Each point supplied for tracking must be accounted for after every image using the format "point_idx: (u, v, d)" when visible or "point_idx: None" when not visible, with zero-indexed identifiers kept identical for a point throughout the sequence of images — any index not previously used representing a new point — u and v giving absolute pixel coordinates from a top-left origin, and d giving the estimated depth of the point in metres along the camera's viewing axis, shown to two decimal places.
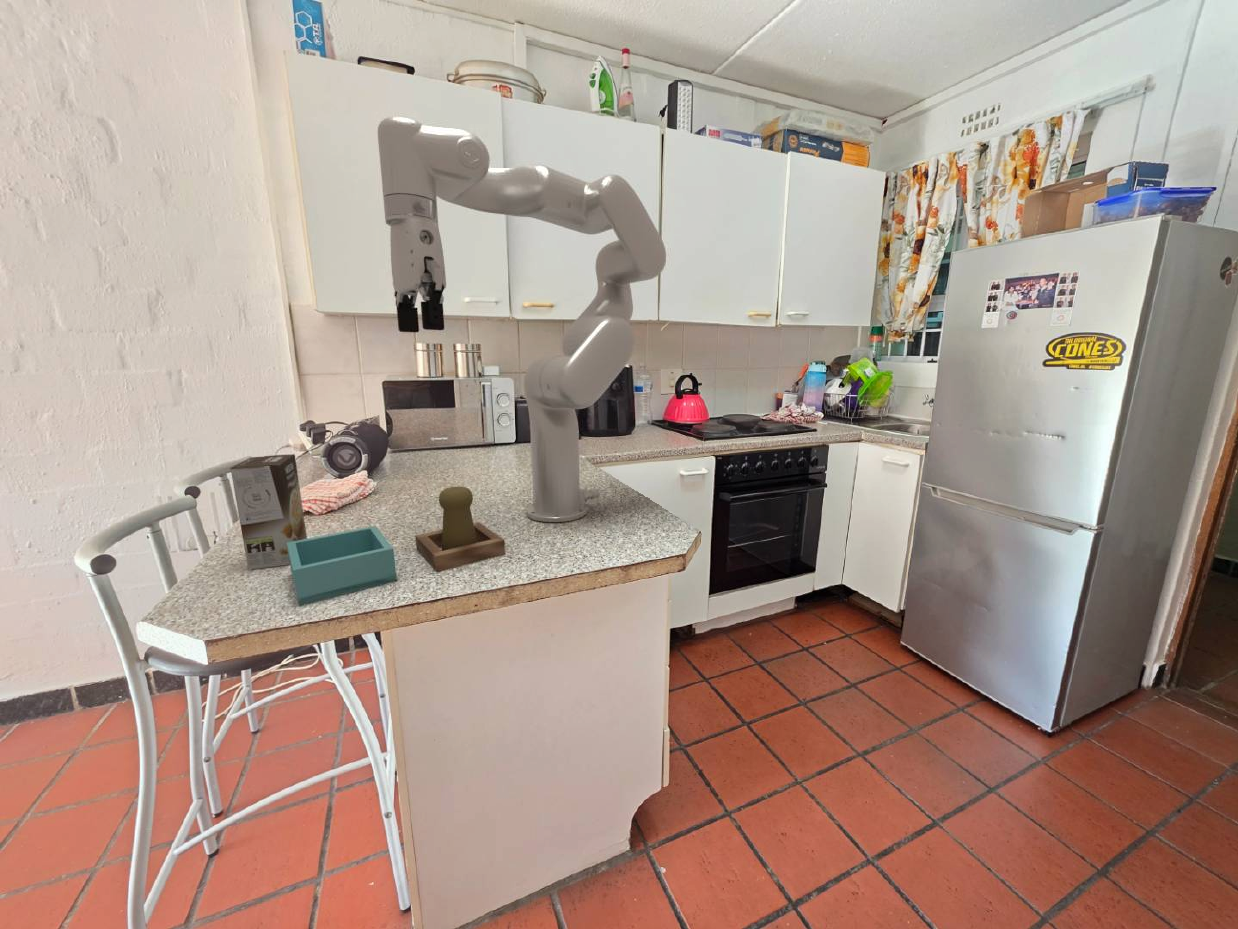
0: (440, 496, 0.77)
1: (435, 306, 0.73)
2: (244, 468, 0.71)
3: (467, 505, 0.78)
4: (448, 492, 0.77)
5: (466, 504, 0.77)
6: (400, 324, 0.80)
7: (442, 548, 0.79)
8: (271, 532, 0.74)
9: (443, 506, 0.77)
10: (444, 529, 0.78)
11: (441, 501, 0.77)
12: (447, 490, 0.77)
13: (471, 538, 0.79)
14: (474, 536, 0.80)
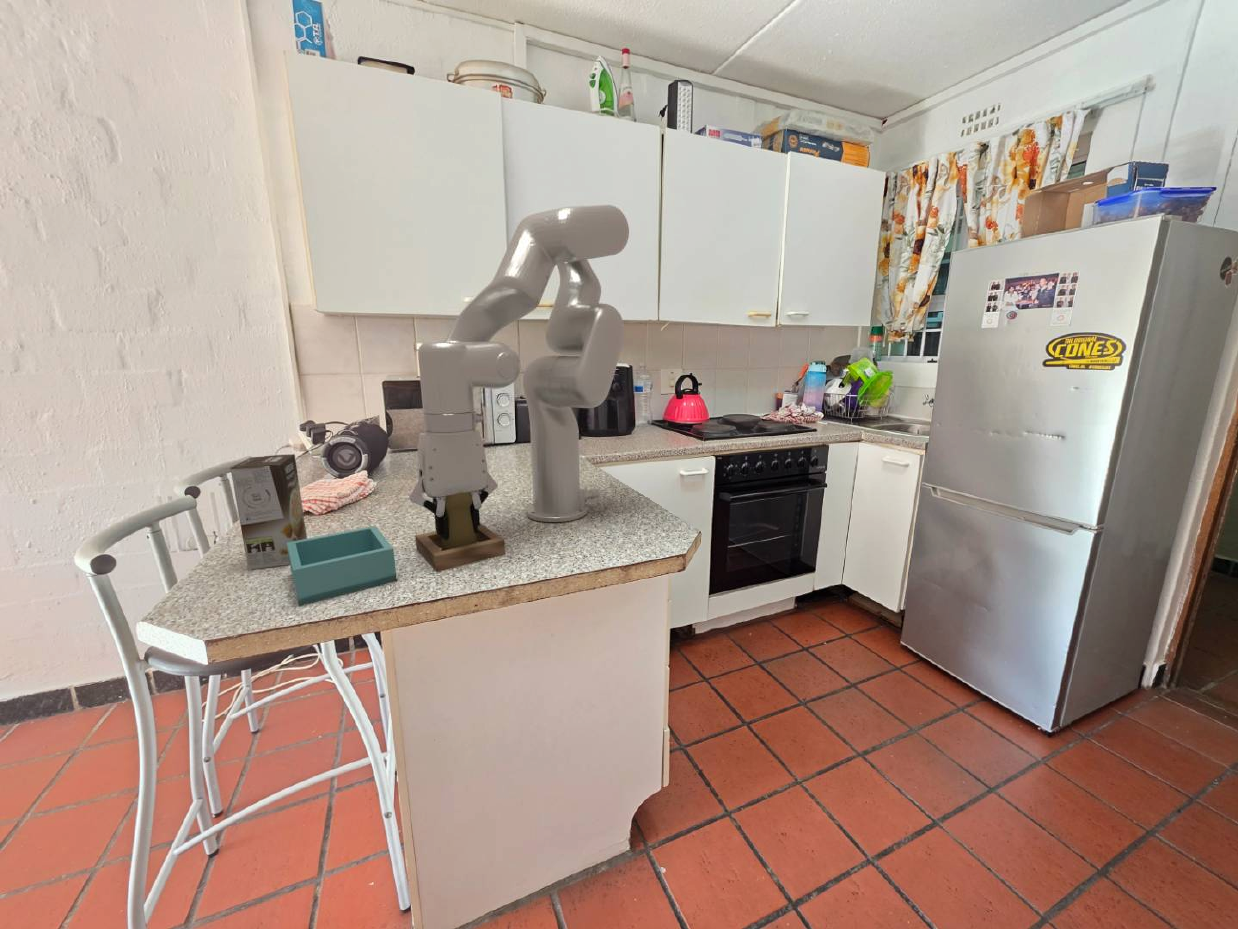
0: None
1: None
2: (244, 468, 0.71)
3: (467, 505, 0.78)
4: None
5: (466, 504, 0.77)
6: (448, 532, 0.77)
7: (442, 548, 0.79)
8: (271, 532, 0.74)
9: None
10: None
11: None
12: None
13: (471, 538, 0.79)
14: (474, 536, 0.80)
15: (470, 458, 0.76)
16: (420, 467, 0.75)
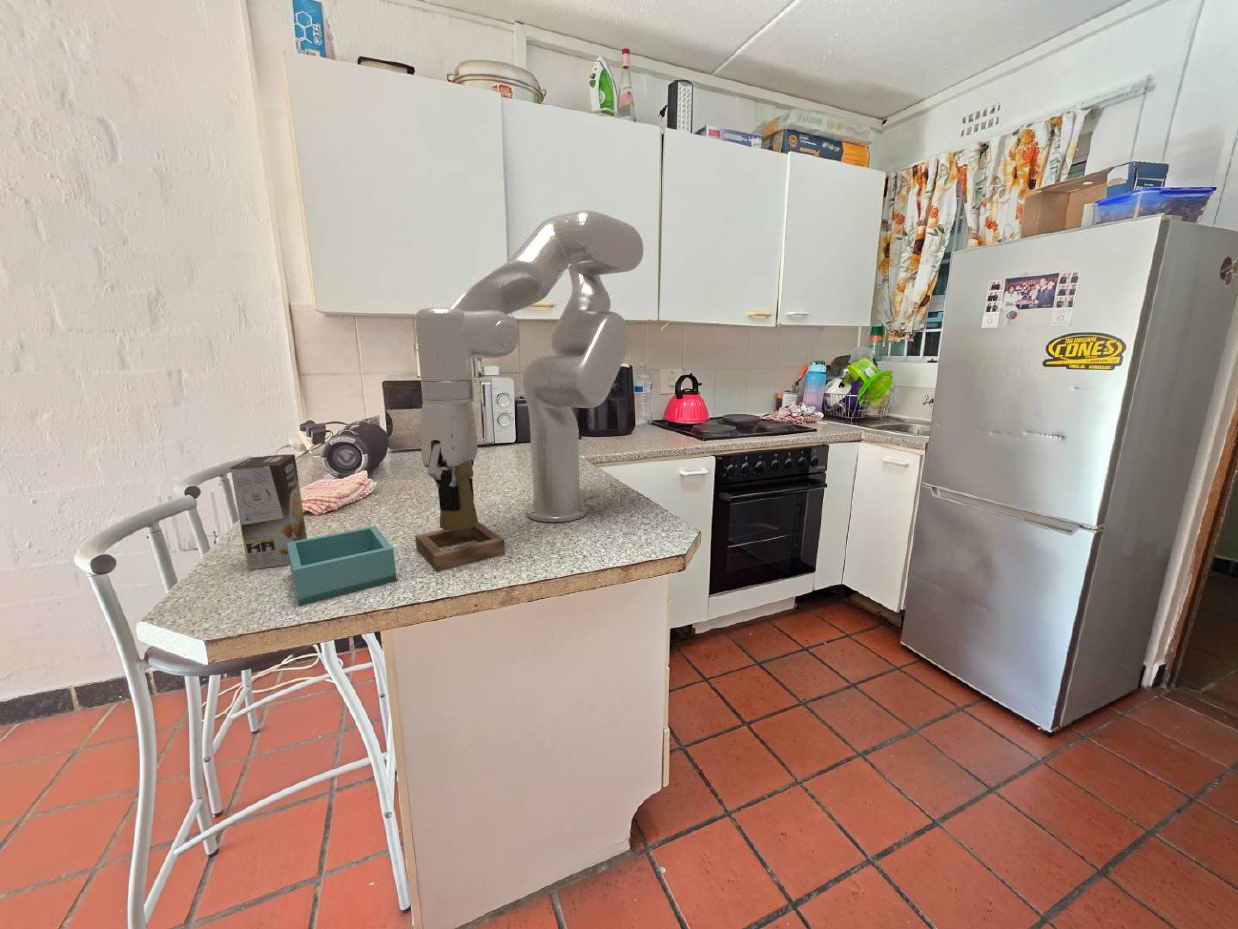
0: None
1: None
2: (244, 468, 0.71)
3: (470, 473, 0.79)
4: None
5: None
6: (459, 503, 0.77)
7: (450, 522, 0.77)
8: (271, 532, 0.74)
9: None
10: None
11: None
12: None
13: (474, 505, 0.80)
14: None
15: (471, 425, 0.78)
16: (433, 438, 0.72)
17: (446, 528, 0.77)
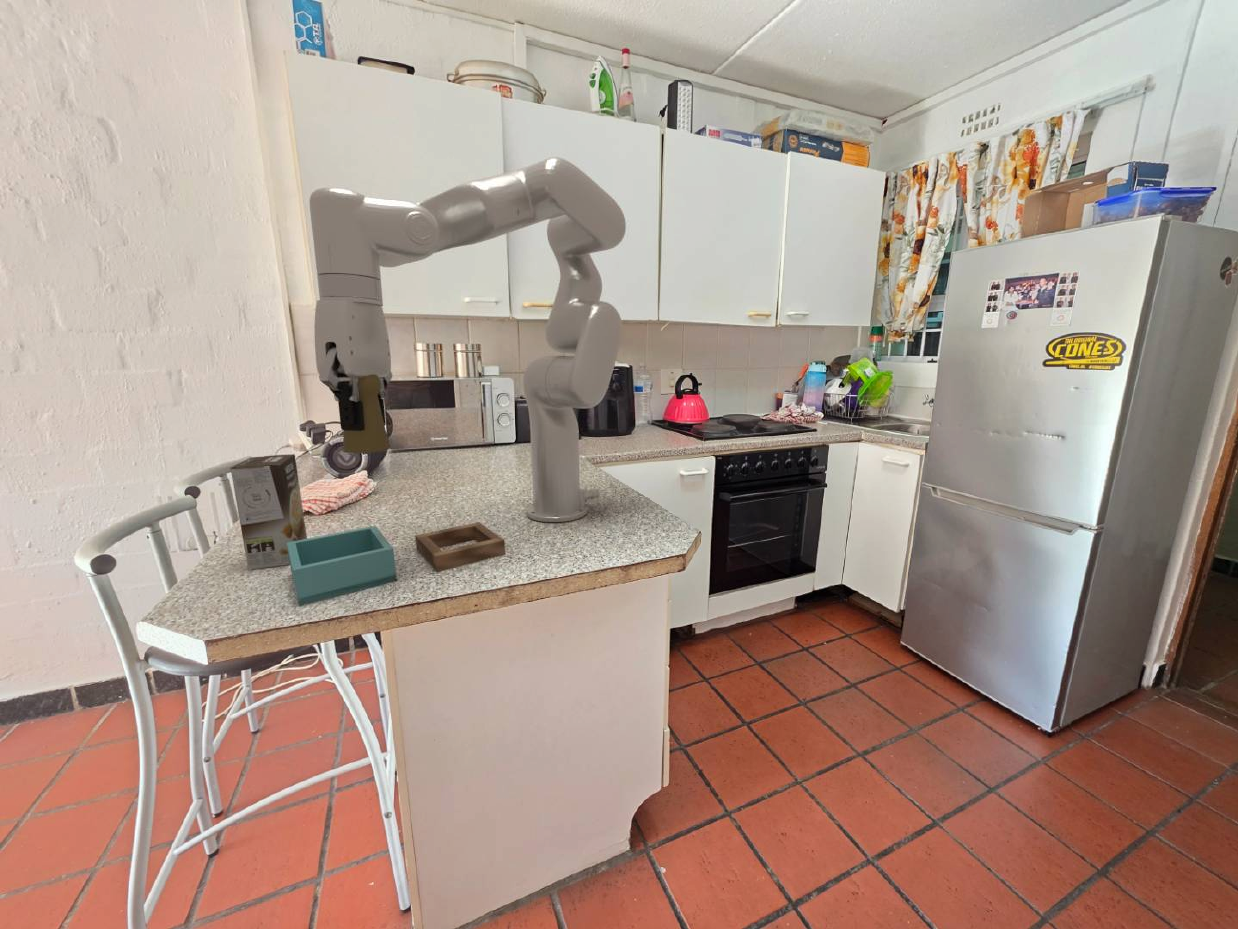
0: None
1: None
2: (244, 468, 0.71)
3: None
4: None
5: (380, 388, 0.69)
6: (363, 421, 0.67)
7: (352, 443, 0.67)
8: (271, 532, 0.74)
9: None
10: None
11: None
12: None
13: None
14: None
15: (380, 335, 0.68)
16: (328, 339, 0.62)
17: (348, 451, 0.67)
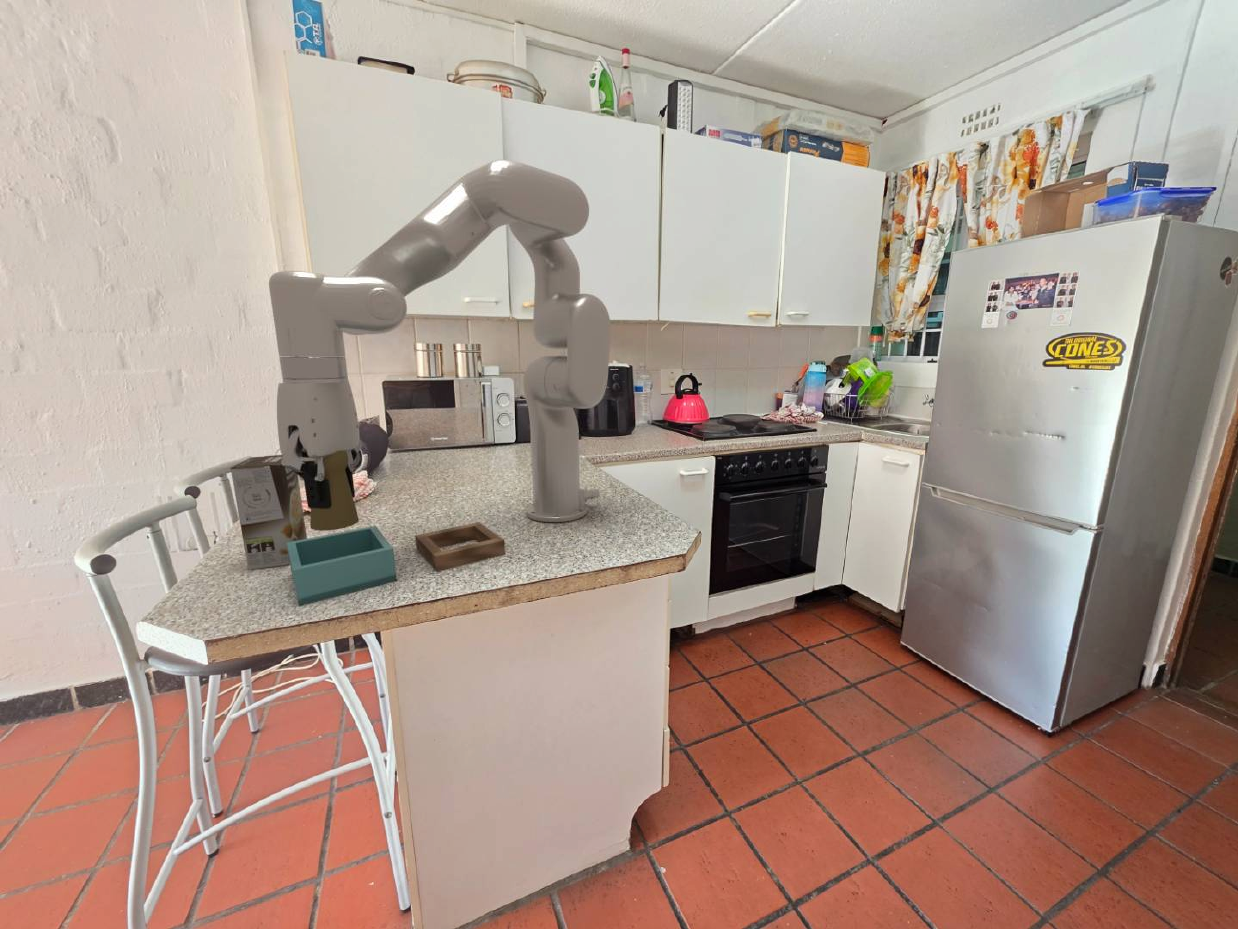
0: None
1: None
2: (244, 468, 0.71)
3: (347, 464, 0.68)
4: None
5: (346, 463, 0.68)
6: (330, 499, 0.66)
7: (319, 520, 0.67)
8: (271, 532, 0.74)
9: None
10: None
11: None
12: None
13: (353, 502, 0.70)
14: (353, 501, 0.71)
15: (346, 410, 0.68)
16: (290, 423, 0.62)
17: (315, 528, 0.67)
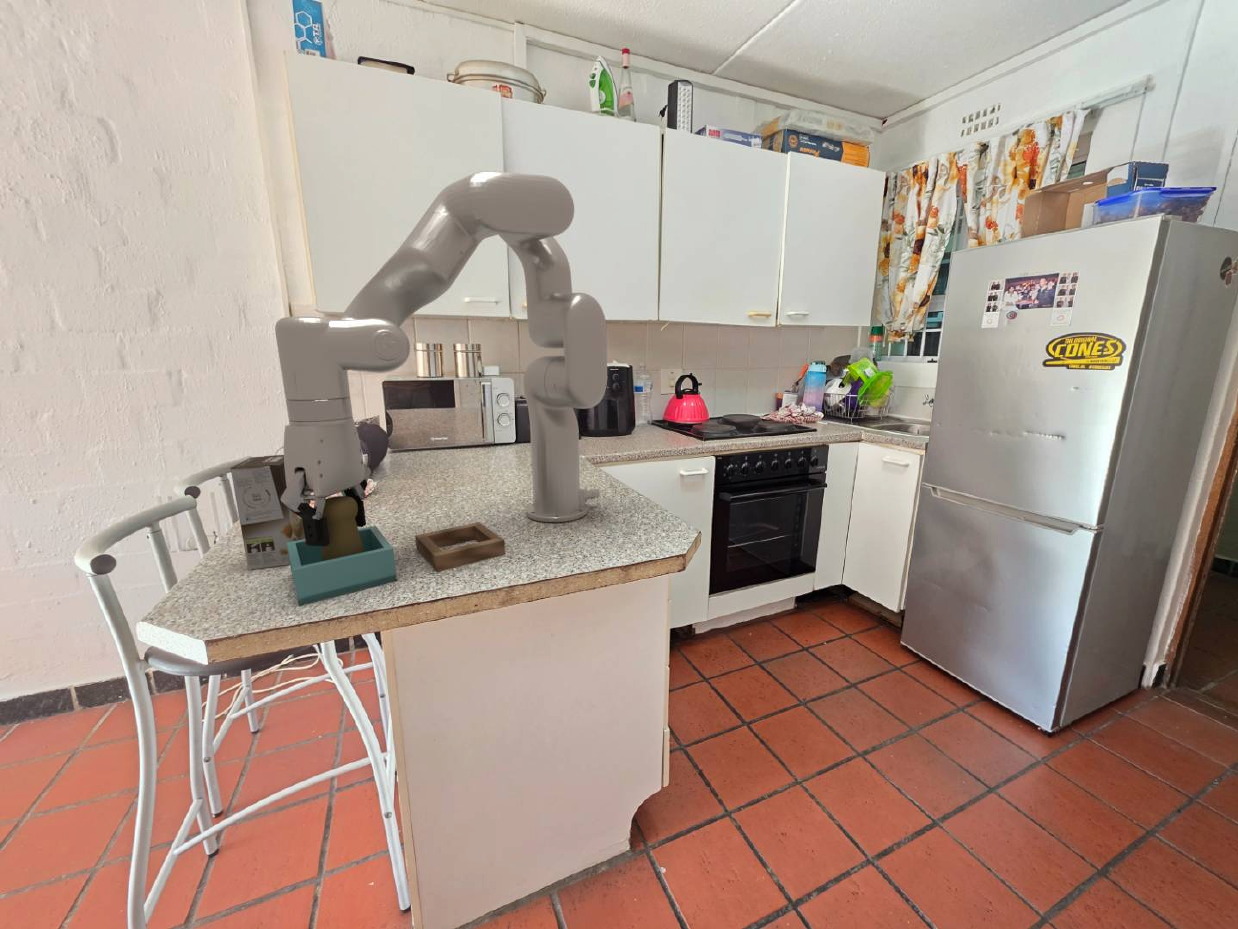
0: (325, 509, 0.67)
1: None
2: (244, 468, 0.71)
3: (356, 513, 0.70)
4: (336, 502, 0.68)
5: (356, 512, 0.70)
6: (328, 536, 0.66)
7: None
8: (271, 532, 0.74)
9: (332, 519, 0.67)
10: (333, 546, 0.68)
11: (329, 514, 0.67)
12: (331, 501, 0.68)
13: (363, 549, 0.72)
14: (362, 547, 0.72)
15: (351, 448, 0.69)
16: (297, 465, 0.63)
17: None
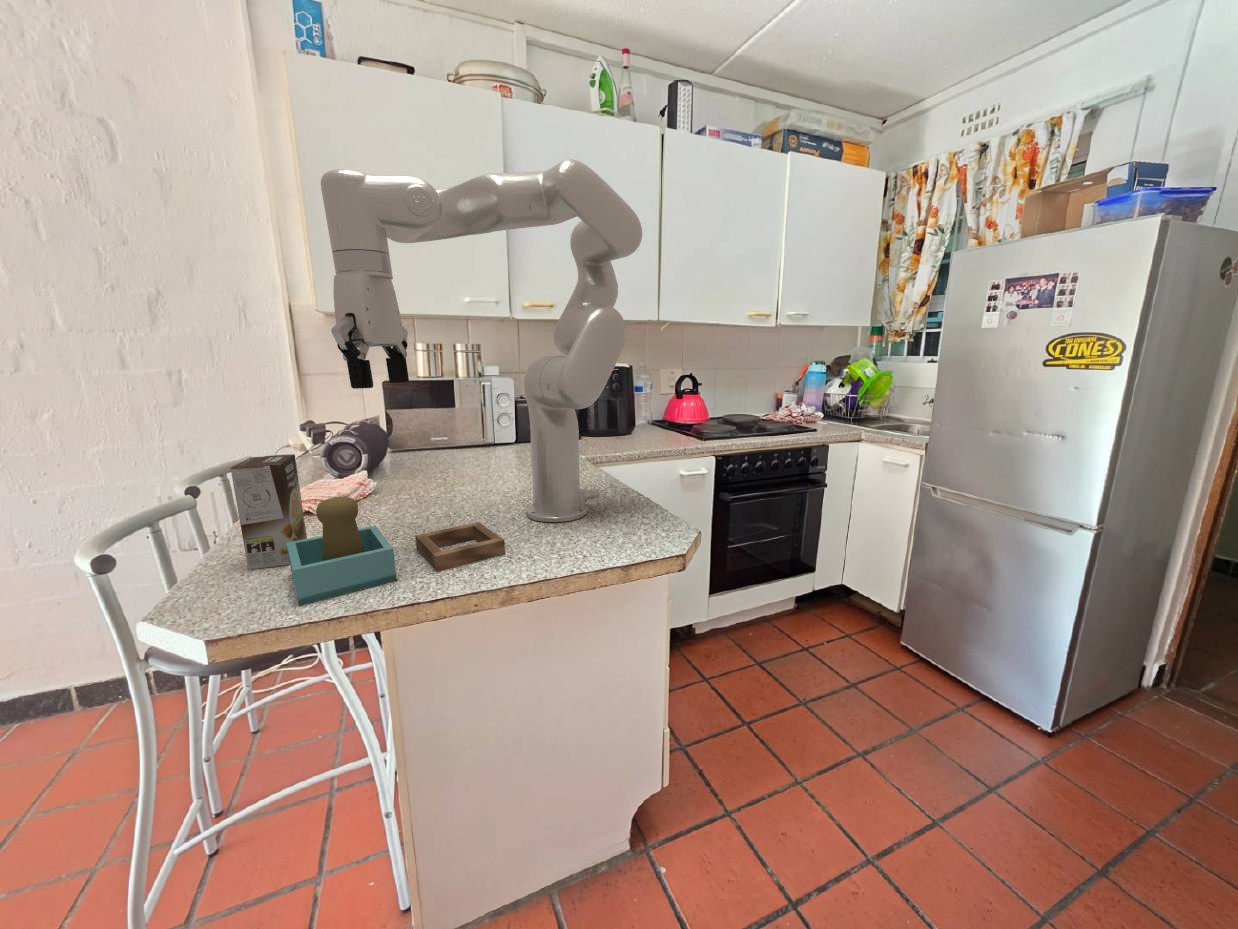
0: (325, 510, 0.67)
1: None
2: (244, 468, 0.71)
3: (357, 514, 0.70)
4: (336, 503, 0.68)
5: (357, 513, 0.70)
6: (372, 379, 0.71)
7: None
8: (271, 532, 0.74)
9: (332, 520, 0.67)
10: (333, 547, 0.68)
11: (329, 515, 0.67)
12: (331, 502, 0.68)
13: (363, 550, 0.72)
14: (363, 548, 0.72)
15: (392, 306, 0.75)
16: (347, 311, 0.68)
17: None
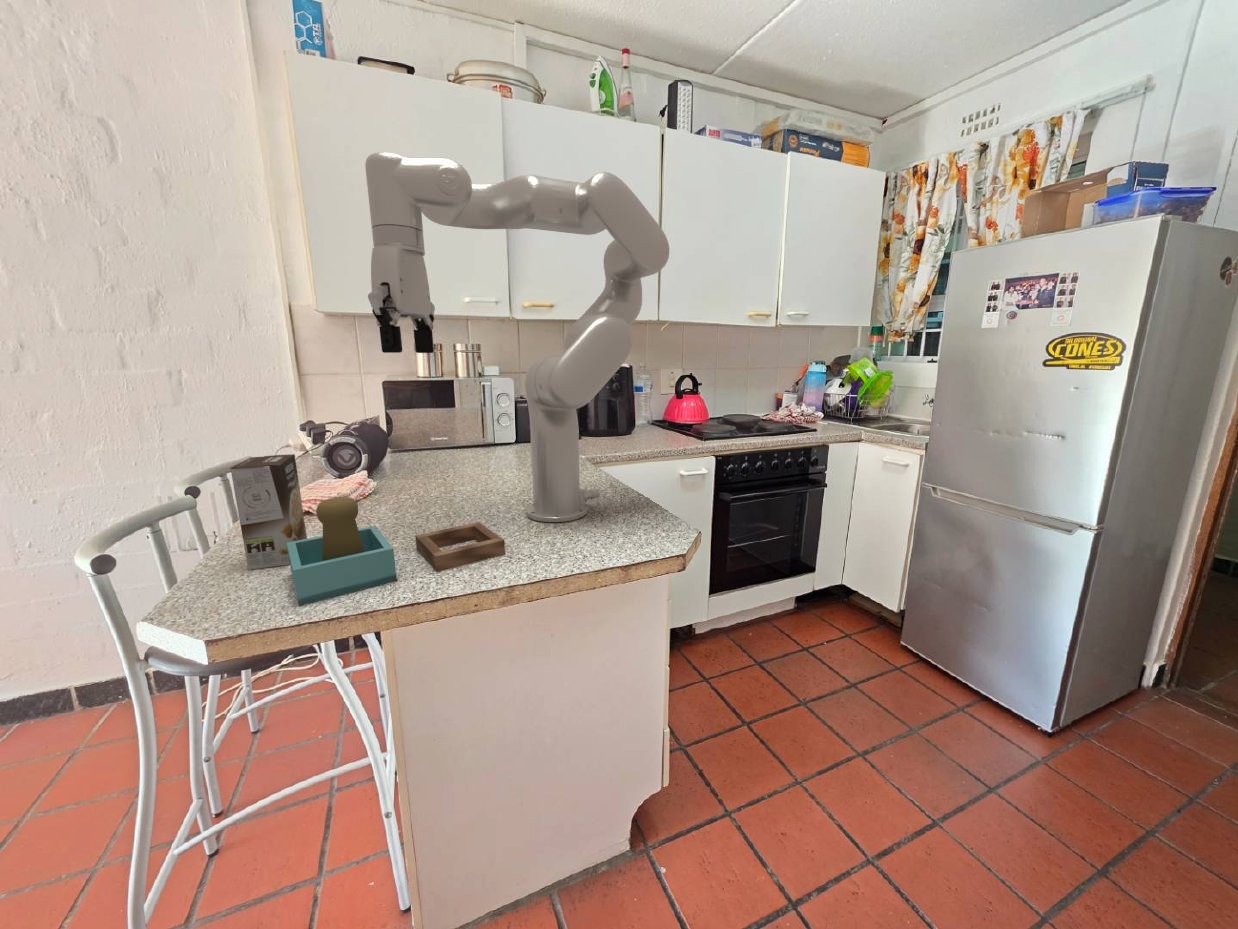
0: (325, 511, 0.67)
1: None
2: (244, 468, 0.71)
3: (357, 514, 0.70)
4: (336, 503, 0.68)
5: (357, 513, 0.70)
6: (401, 344, 0.77)
7: None
8: (271, 532, 0.74)
9: (332, 520, 0.67)
10: (333, 547, 0.68)
11: (329, 515, 0.67)
12: (331, 502, 0.68)
13: (363, 550, 0.72)
14: (363, 548, 0.72)
15: (422, 280, 0.81)
16: (383, 280, 0.75)
17: None
